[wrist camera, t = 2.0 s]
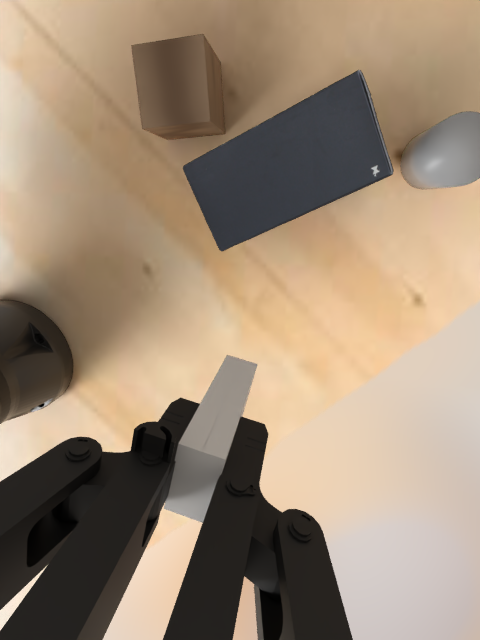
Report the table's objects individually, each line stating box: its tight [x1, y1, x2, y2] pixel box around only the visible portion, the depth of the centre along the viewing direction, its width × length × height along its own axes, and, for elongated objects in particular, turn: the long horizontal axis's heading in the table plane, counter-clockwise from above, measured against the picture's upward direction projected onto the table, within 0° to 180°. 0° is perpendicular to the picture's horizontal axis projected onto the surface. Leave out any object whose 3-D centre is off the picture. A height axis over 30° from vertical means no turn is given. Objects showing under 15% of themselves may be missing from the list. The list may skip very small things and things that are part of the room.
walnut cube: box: [131, 34, 225, 140], centre depth 31 cm, size 6×6×6 cm
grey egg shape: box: [400, 112, 480, 189], centre depth 29 cm, size 5×5×7 cm
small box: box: [183, 70, 393, 251], centre depth 29 cm, size 13×7×12 cm, turn 115°
